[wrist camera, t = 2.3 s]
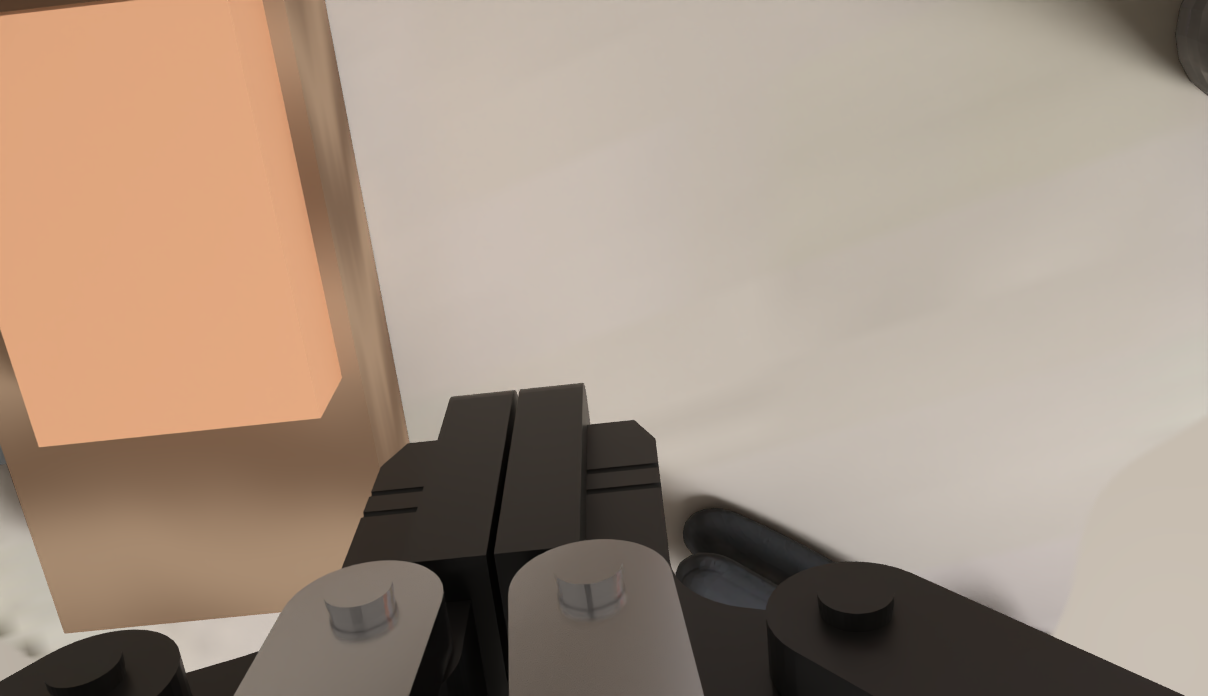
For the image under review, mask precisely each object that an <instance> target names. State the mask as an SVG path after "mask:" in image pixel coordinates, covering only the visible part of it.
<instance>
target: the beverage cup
mask: <svg viewBox="0 0 1208 696" xmlns="http://www.w3.org/2000/svg"><path fill="white" fill-rule="evenodd" d="M1176 41H1177V49H1178V56H1179V60H1180V62H1181V64H1182V66H1183V68H1184V70H1185V72H1186V74H1187V75H1188V77H1189V79H1190V81H1191V82H1193V83H1194V84H1195V85H1196V86H1197V87H1198V88H1200V89H1201V90H1202V91H1203V92H1204V93H1205V94H1207V95H1208V0H1183V2H1182V5H1181V7H1180V12H1179V17H1178V23H1177V29H1176Z"/></svg>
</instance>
